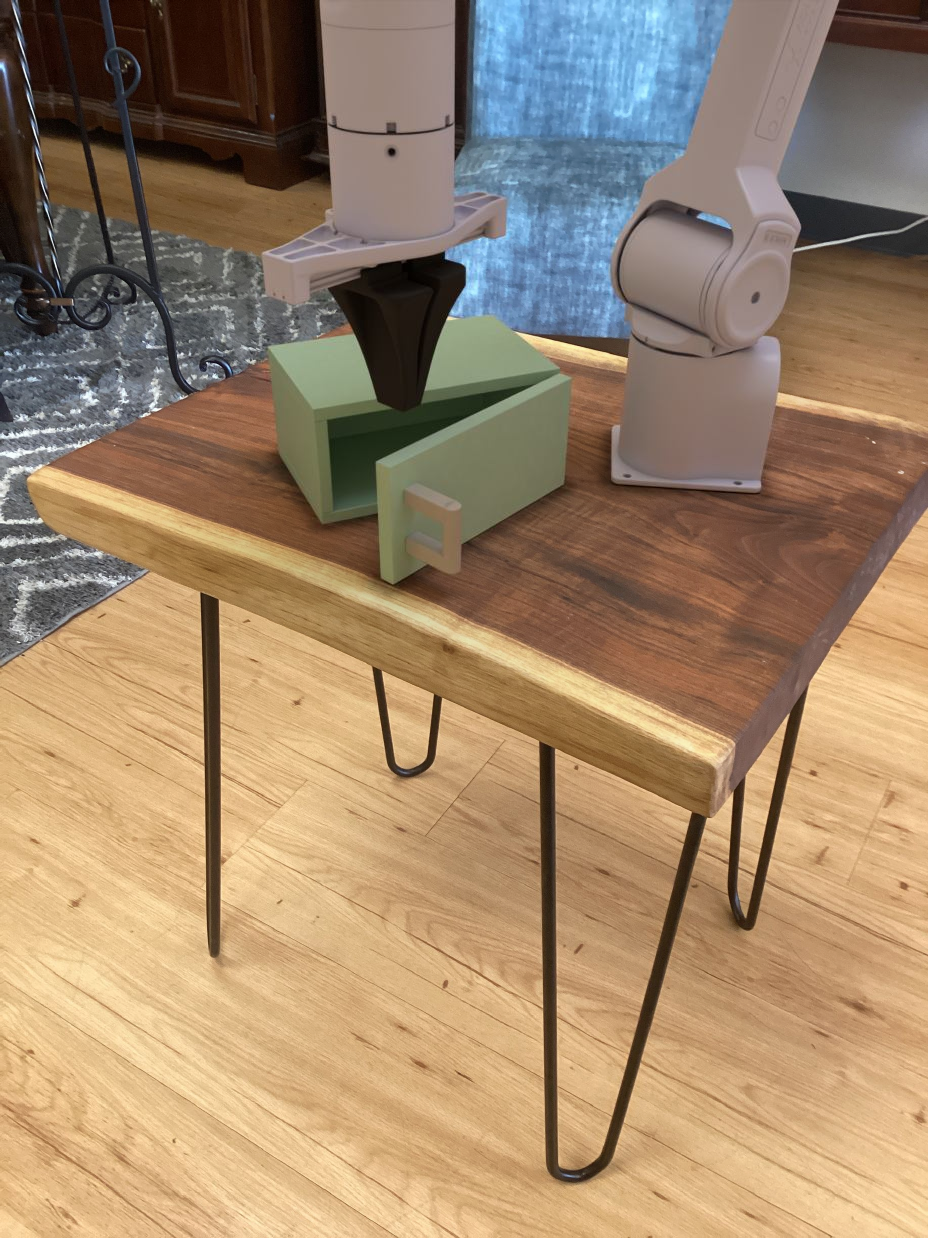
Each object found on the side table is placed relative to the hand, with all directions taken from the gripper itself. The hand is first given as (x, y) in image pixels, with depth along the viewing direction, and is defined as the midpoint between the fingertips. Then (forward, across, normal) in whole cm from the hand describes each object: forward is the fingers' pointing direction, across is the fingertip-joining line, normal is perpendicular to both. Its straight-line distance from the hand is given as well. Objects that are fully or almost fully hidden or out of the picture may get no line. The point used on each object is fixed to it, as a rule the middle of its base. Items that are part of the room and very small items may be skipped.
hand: (399, 402), depth 55 cm
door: (+9, -5, +3) cm, 11 cm away
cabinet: (+9, -8, -7) cm, 14 cm away
